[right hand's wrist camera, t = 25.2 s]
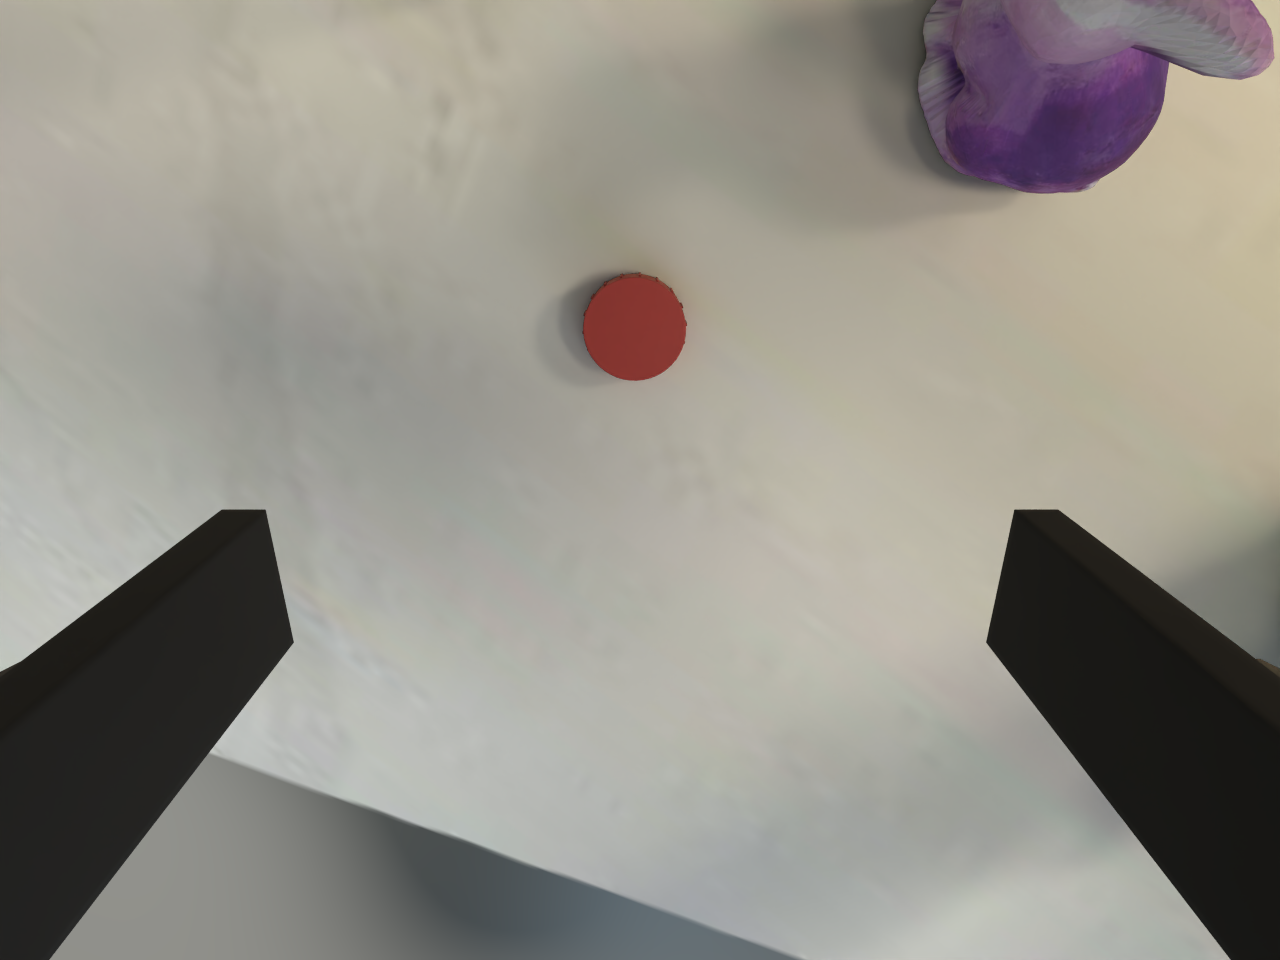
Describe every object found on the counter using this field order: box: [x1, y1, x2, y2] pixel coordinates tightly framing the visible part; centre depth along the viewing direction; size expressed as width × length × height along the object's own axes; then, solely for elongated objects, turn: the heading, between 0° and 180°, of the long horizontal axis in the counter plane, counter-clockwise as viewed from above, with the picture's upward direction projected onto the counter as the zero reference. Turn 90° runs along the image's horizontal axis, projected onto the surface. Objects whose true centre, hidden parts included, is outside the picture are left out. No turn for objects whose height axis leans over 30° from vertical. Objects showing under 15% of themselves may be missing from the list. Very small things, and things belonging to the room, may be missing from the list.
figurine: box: [917, 0, 1274, 193], centre depth 26 cm, size 9×10×15 cm
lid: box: [583, 272, 687, 381], centre depth 36 cm, size 5×5×2 cm
